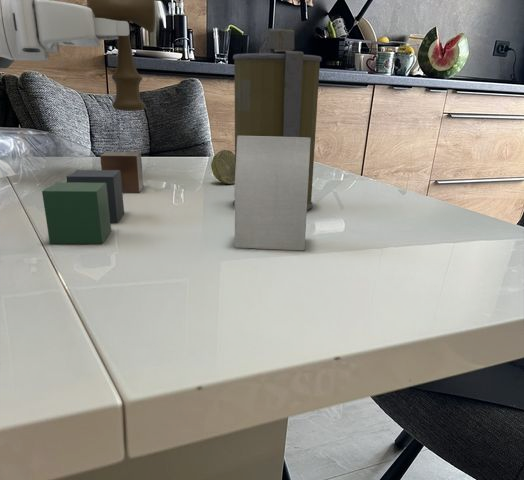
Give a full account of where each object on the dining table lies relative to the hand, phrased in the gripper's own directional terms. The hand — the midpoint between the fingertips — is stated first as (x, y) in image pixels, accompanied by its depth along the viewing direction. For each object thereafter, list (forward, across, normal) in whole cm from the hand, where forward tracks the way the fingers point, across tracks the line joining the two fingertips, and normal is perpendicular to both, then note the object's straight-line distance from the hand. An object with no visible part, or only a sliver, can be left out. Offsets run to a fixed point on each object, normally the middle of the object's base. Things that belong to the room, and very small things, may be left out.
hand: (129, 30), depth 82 cm
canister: (+17, +26, -21) cm, 37 cm away
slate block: (-5, +30, -21) cm, 37 cm away
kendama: (-1, 0, -11) cm, 11 cm away
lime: (+13, +7, -21) cm, 26 cm away
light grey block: (+12, +44, -22) cm, 51 cm away
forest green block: (-6, +39, -21) cm, 45 cm away
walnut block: (-2, +11, -21) cm, 24 cm away
